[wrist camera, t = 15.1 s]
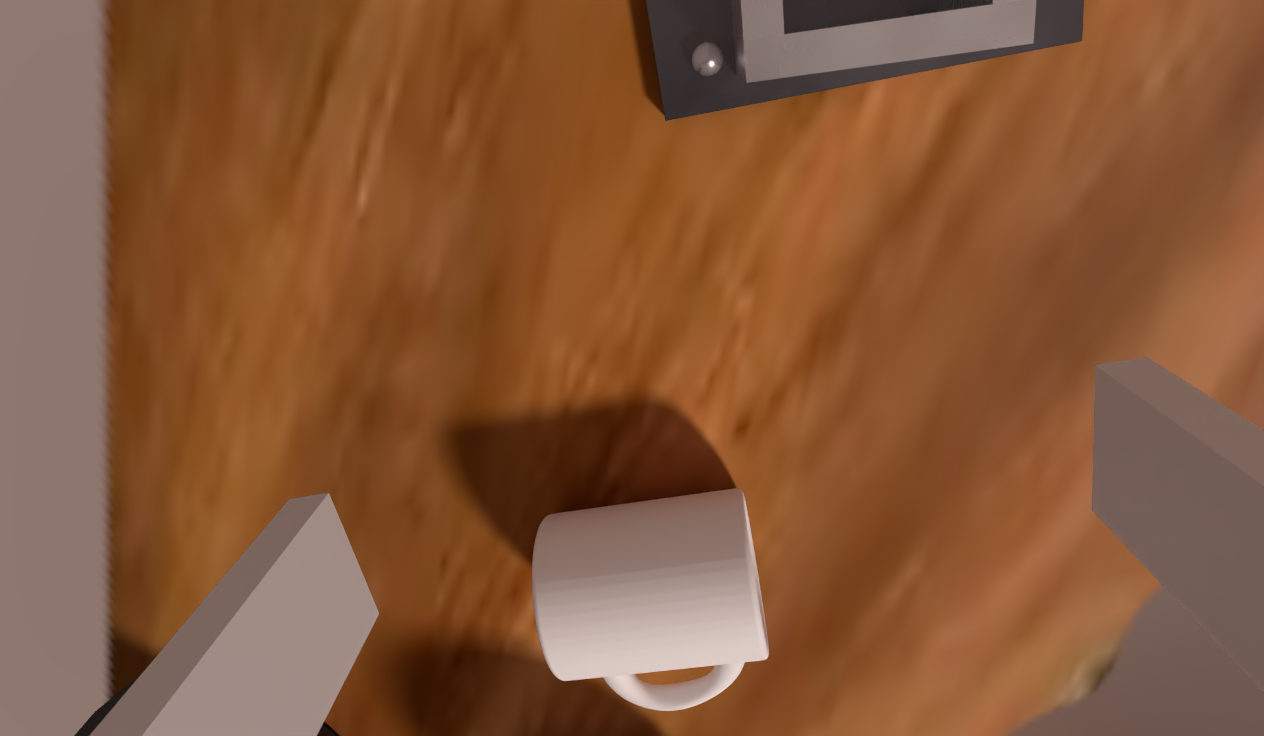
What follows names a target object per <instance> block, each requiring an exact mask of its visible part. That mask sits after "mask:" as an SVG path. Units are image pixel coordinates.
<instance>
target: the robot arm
mask: <svg viewBox="0 0 1264 736" xmlns="http://www.w3.org/2000/svg"><path fill="white" fill-rule="evenodd" d="M1092 511H1093V512H1094V513H1095V514H1096V515H1097V516H1098V517H1099V518H1100V519H1101V520H1102V521H1103V522H1104V523H1105V525H1106V526H1107V527H1108V528H1109V529H1110V530H1111V531H1112V532H1113V533H1114V534H1115V535H1116V536H1117V537H1118V538H1119V539H1120V540H1121V541H1122V543H1123V544H1124V545H1125V546H1126V547H1127V548H1128V549H1129V550H1130V551H1131V552H1132V553H1133V554H1134V555H1135V556H1136V557H1137V558H1138V560H1139V561H1140V562H1141V563H1142V564H1143V565H1144V566H1145V567H1146V568H1147V569H1148V570H1149V571H1150V572H1151V573H1152V574H1153V575H1154V577H1155V578H1156V579H1157V580H1158V581H1159V582H1160V583H1161V584H1162V585H1163V586H1164V587H1165V588H1166V589H1167V590H1168V591H1169V592H1170V593H1171V594H1172V596H1173V597H1174V598H1175V599H1176V600H1177V601H1178V602H1179V603H1180V604H1181V605H1182V606H1183V607H1184V608H1185V609H1186V611H1187V612H1188V613H1189V614H1190V615H1191V616H1192V617H1193V618H1194V619H1195V620H1196V621H1197V622H1198V623H1199V624H1200V625H1201V626H1202V628H1203V629H1204V630H1205V631H1206V632H1207V633H1208V634H1209V635H1210V636H1211V637H1212V638H1213V639H1214V640H1215V641H1216V642H1217V643H1218V644H1219V645H1220V646H1221V647H1222V649H1223V650H1224V651H1225V652H1226V653H1227V654H1228V655H1229V656H1230V657H1231V658H1232V659H1233V660H1234V661H1235V663H1236V664H1237V665H1238V666H1239V667H1240V668H1241V669H1242V670H1243V671H1244V672H1245V673H1246V674H1247V675H1248V676H1249V677H1250V678H1251V679H1252V681H1253V682H1254V683H1255V684H1256V685H1257V686H1258V687H1259V688H1260V689H1261V690H1262V691H1263V692H1264V430H1263V429H1261V428H1259V427H1258V426H1256V425H1255V424H1253V423H1251V422H1250V421H1248V420H1246V419H1245V418H1243V417H1242V416H1240V415H1238V414H1237V413H1235V412H1234V411H1232V410H1230V409H1229V408H1227V407H1226V406H1224V405H1222V404H1221V403H1219V402H1218V401H1216V400H1214V399H1213V398H1211V397H1210V396H1208V395H1206V394H1205V393H1203V392H1202V391H1200V390H1198V389H1197V388H1195V387H1194V386H1192V385H1190V384H1189V383H1187V382H1186V381H1184V380H1182V379H1181V378H1179V377H1178V376H1176V375H1174V374H1173V373H1171V372H1170V371H1168V370H1166V369H1165V368H1163V367H1162V366H1160V365H1158V364H1157V363H1155V362H1154V361H1152V360H1150V359H1149V358H1147V357H1142V358H1136V359H1130V360H1124V361H1118V362H1112V363H1106V364H1100V365H1095V401H1094V442H1093V483H1092ZM378 615H379V612H378V610H377V607H376V605H375V603H374V600H373V598H372V595H371V593H370V591H369V588H368V586H367V583H366V581H365V579H364V576H363V574H362V571H361V569H360V567H359V564H358V562H357V559H356V557H355V555H354V552H353V550H352V547H351V545H350V543H349V540H348V538H347V535H346V533H345V531H344V528H343V526H342V523H341V521H340V519H339V516H338V514H337V511H336V509H335V507H334V504H333V502H332V499H331V497H330V495H329V493H325V494H319V495H313V496H307V497H301V498H295V499H289V500H288V501H287V503H286V504H285V505H284V506H283V507H282V509H281V510H280V511H279V512H278V513H277V514H276V516H275V517H274V518H273V519H272V520H271V522H270V523H269V524H268V525H267V526H266V527H265V529H264V530H263V531H262V532H261V533H260V535H259V536H258V537H257V538H256V539H255V540H254V542H253V543H252V544H251V545H250V546H249V548H248V549H247V550H246V551H245V552H244V553H243V555H242V556H241V557H240V558H239V559H238V561H237V562H236V563H235V564H234V565H233V566H232V568H231V569H230V570H229V571H228V572H227V574H226V575H225V576H224V577H223V578H222V579H221V581H220V582H219V583H218V584H217V585H216V587H215V588H214V589H213V590H212V591H211V592H210V594H209V595H208V596H207V597H206V598H205V600H204V601H203V602H202V603H201V604H200V605H199V607H198V608H197V609H196V610H195V611H194V613H193V614H192V615H191V616H190V617H189V618H188V620H187V621H186V622H185V623H184V624H183V626H182V627H181V628H180V629H179V630H178V631H177V633H176V634H175V635H174V636H173V637H172V639H171V640H170V641H169V642H168V643H167V645H166V646H165V647H164V648H163V649H162V650H161V652H160V653H159V654H158V655H157V656H156V658H155V659H154V660H153V661H152V662H151V663H150V665H149V666H148V667H147V668H146V669H145V671H144V672H143V673H142V674H141V675H140V676H139V678H138V679H137V680H136V681H133V682H131V683H130V684H129V685H128V686H126V687H125V688H124V689H123V690H121V691H120V692H119V693H118V694H117V695H115V696H114V697H113V698H112V699H110V700H109V701H108V702H107V703H105V704H104V705H103V706H102V707H100V708H99V709H98V710H97V711H95V713H94V714H93V715H92V716H91V717H90V718H89V719H88V721H87V722H86V723H85V724H84V725H83V726H82V728H81V729H80V730H79V731H78V732H77V733H76V735H75V736H336V735H335V734H334V733H333V732H332V731H331V730H329V729H328V728H327V727H326V726H324V725H323V723H324V721H325V719H326V717H327V715H328V713H329V711H330V709H331V707H332V705H333V703H334V701H335V699H336V697H337V695H338V693H339V691H340V689H341V687H342V685H343V683H344V681H345V679H346V678H347V676H348V674H349V672H350V670H351V668H352V666H353V664H354V662H355V660H356V658H357V656H358V654H359V652H360V650H361V648H362V646H363V644H364V642H365V640H366V638H367V636H368V635H369V633H370V631H371V629H372V627H373V625H374V623H375V621H376V619H377V617H378Z"/></svg>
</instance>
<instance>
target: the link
mask: <svg viewBox="0 0 1264 736" xmlns="http://www.w3.org/2000/svg"><path fill="white" fill-rule="evenodd" d="M731 9H732V22H733V36H734V49H735V63H736V75H737V76H738V77H739V78H741V79H742V80H743V81H745V82H746V83H749V82H756V81H764V80H771V79H778V78H786V77H793V76H800V75H807V74H815V73H822V72H829V71H837V70H844V69H851V68H858V67H866V66H873V65H880V64H887V63H895V62H902V61H909V60H917V59H924V58H931V57H938V56H946V55H953V54H960V53H968V52H975V51H982V50H989V49H997V48H1004V47H1011V46H1018V45H1026V44H1033V42H1034V28H1035V14H1036V0H939V10H937V11H930V12H923V13H916V14H909V15H902V16H896V17H889V18H882V19H875V20H868V21H861V22H854V23H847V24H840V25H833V26H826V27H819V28H812V29H805V30H798V31H791V32H785V33H784V18H783V0H731Z"/></svg>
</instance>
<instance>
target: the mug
mask: <svg viewBox="0 0 1264 736" xmlns="http://www.w3.org/2000/svg"><path fill="white" fill-rule="evenodd" d="M532 592H533V605H534V613H535V620H536V626H537V632H538V636H539V640H540V644H541V648H542V651H543V654H544V657H545V659H546V662H547V664H548V666H549V668H550V670H551V671H552V673H553V674H554V675H555V676H556V677H557V678H558V679H560V680H562V681H571V680H581V679H590V678H600V677H603V678H604V680H605V681H606V682H607V684H608V685H609V686H610V687H611V688H612V689H613V690H614V691H615V692H616V693H617V694H618V695H620V696H621V697H622V698H624V699H626V700H627V701H629V702H631V703H633V704H636V705H638V706H641V707H645V708H649V709H653V710H661V711H674V710H681V709H686V708H690V707H693V706H696V705H698V704H701V703H703V702H705V701H707V700H709V699H711V698H713V697H714V696H716V695H718V694H719V693H721V692H722V691H723V690H725V689H726V688H727V687H728V686H729V685H730V684H731V683H732V682H733V681H734V680H735V679H736V678H737V677H738V675H739V674H740V672H741V670H742V668H743V666H744V663H745V662H751V661H760V660H765V659H767V658H768V655H769V648H768V639H767V632H766V624H765V617H764V610H763V603H762V597H761V590H760V584H759V577H758V571H757V565H756V558H755V552H754V546H753V540H752V534H751V528H750V523H749V517H748V512H747V506H746V501H745V497H744V493H743V491H742V490H741V489H739V488H735V489H728V490H720V491H713V492H706V493H699V494H692V495H684V496H677V497H670V498H663V499H656V500H648V501H641V502H634V503H627V504H620V505H612V506H605V507H598V508H591V509H584V510H576V511H569V512H562V513H555V514H550V515H548V516H546V517H545V518H544V519H543V521H542V522H541V524H540V526H539V528H538V531H537V535H536V539H535V544H534V550H533V561H532ZM713 665H715V667H714V669H713V670H712V671H711V672H710V673H709V674H708V675H706V676H704V677H701V678H698V679H695V680H691V681H687V682H682V683H676V684H668V685H653V684H648V683H645V682H643V681H641V680H640V679H638V678H637V677H636V676H635V674H637V673H647V672H656V671H666V670H675V669H685V668H694V667H704V666H713Z"/></svg>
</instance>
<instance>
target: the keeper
mask: <svg viewBox="0 0 1264 736" xmlns="http://www.w3.org/2000/svg"><path fill="white" fill-rule="evenodd" d="M646 4H647V10H648V16H649V22H650V29H651V35H652V41H653V47H654V53H655V59H656V65H657V71H658V77H659V84H660V90H661V96H662V102H663V108H664V114H665V120H666V121H667V120H672V119H677V118H682V117H688V116H693V115H698V114H703V113H709V112H714V111H719V110H724V109H729V108H735V107H740V106H745V105H750V104H756V103H761V102H766V101H771V100H776V99H782V98H787V97H792V96H797V95H803V94H808V93H813V92H818V91H823V90H829V89H834V88H839V87H844V86H850V85H855V84H860V83H865V82H871V81H876V80H881V79H886V78H891V77H897V76H902V75H907V74H912V73H918V72H923V71H928V70H933V69H938V68H944V67H949V66H954V65H959V64H965V63H970V62H975V61H980V60H986V59H991V58H996V57H1001V56H1006V55H1012V54H1017V53H1022V52H1027V51H1033V50H1038V49H1043V48H1048V47H1053V46H1059V45H1064V44H1069V43H1074V42H1080V41H1082V32H1083V7H1084V0H1036V14H1035V28H1034V42H1033V44H1026V45H1018V46H1011V47H1004V48H997V49H989V50H982V51H975V52H968V53H960V54H953V55H946V56H938V57H931V58H924V59H917V60H909V61H902V62H895V63H887V64H880V65H873V66H866V67H858V68H851V69H844V70H837V71H829V72H822V73H815V74H807V75H800V76H793V77H786V78H778V79H771V80H764V81H756V82H749V83H746V82H745V81H743V80H742V79H741V78H739V77H738V76H737V75H736V63H735V49H734V36H733V22H732V9H731V0H646ZM937 10H939V0H783V18H784V33H785V32H791V31H798V30H805V29H812V28H819V27H826V26H833V25H840V24H847V23H854V22H861V21H868V20H875V19H882V18H889V17H896V16H902V15H909V14H916V13H923V12H930V11H937Z"/></svg>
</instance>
